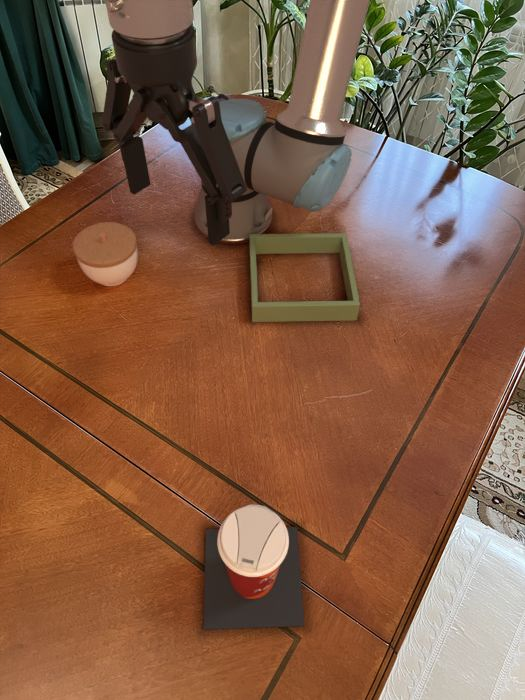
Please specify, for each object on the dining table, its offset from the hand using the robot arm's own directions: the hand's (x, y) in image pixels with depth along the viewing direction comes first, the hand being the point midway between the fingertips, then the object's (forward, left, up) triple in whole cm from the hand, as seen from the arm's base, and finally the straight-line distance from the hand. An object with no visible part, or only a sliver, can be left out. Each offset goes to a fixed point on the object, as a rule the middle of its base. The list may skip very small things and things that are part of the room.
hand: (178, 212), depth 69 cm
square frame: (-17, +18, -30) cm, 39 cm away
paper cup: (+34, +8, -30) cm, 46 cm away
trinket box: (-20, -16, -30) cm, 40 cm away
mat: (+34, +8, -30) cm, 46 cm away
